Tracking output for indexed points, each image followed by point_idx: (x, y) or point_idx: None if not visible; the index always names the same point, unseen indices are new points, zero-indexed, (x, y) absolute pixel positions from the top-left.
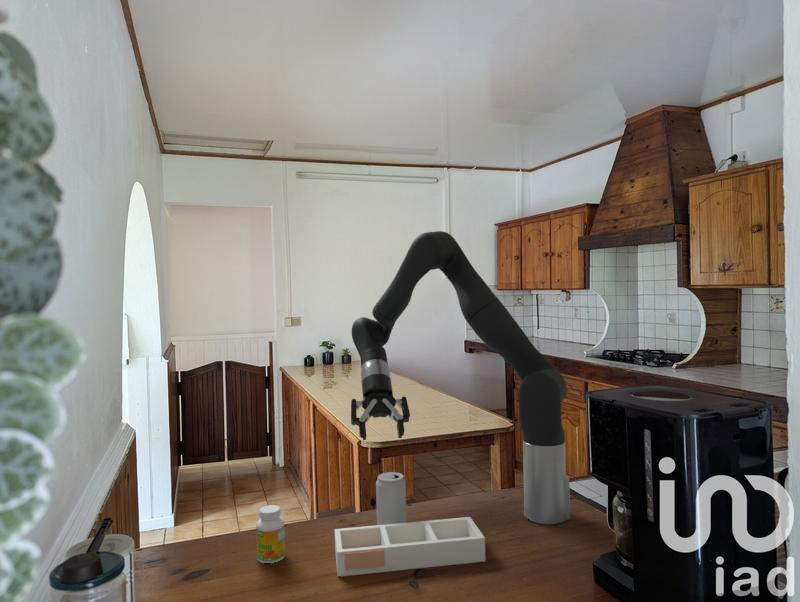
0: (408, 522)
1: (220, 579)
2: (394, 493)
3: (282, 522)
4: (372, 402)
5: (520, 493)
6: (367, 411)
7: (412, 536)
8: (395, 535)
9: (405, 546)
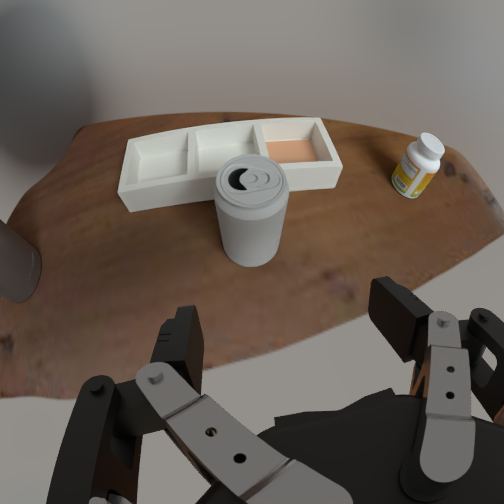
0: None
1: None
2: (243, 170)
3: (410, 149)
4: (458, 431)
5: (18, 371)
6: (447, 355)
7: None
8: None
9: (233, 122)
